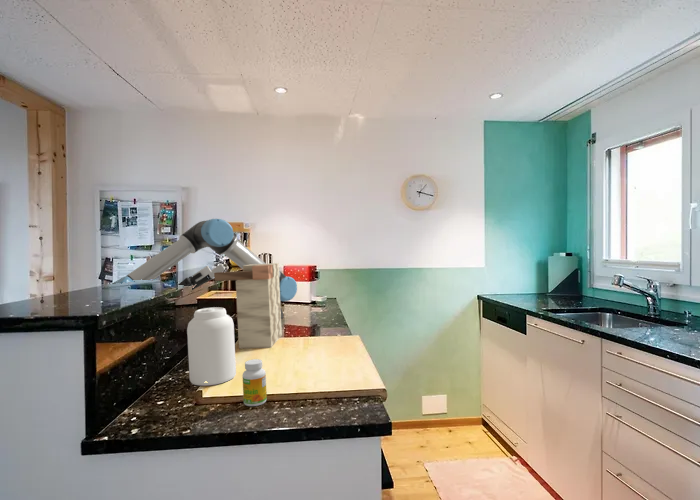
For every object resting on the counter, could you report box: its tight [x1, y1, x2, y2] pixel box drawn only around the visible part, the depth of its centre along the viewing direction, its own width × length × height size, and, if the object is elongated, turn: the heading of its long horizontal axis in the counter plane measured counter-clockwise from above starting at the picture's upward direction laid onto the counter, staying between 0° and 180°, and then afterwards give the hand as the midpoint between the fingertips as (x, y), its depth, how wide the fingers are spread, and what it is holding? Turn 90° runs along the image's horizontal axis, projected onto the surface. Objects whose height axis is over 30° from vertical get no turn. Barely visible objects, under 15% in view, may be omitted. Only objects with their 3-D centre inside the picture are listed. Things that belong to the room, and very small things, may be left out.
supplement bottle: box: [242, 358, 268, 407], centre depth 90 cm, size 5×5×10 cm
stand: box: [235, 262, 283, 349], centre depth 147 cm, size 18×12×30 cm, turn 178°
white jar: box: [186, 306, 237, 387], centre depth 107 cm, size 12×12×20 cm
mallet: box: [213, 265, 273, 282], centre depth 143 cm, size 6×21×5 cm, turn 88°
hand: (216, 267), depth 143 cm, fingers open, 13 cm apart
